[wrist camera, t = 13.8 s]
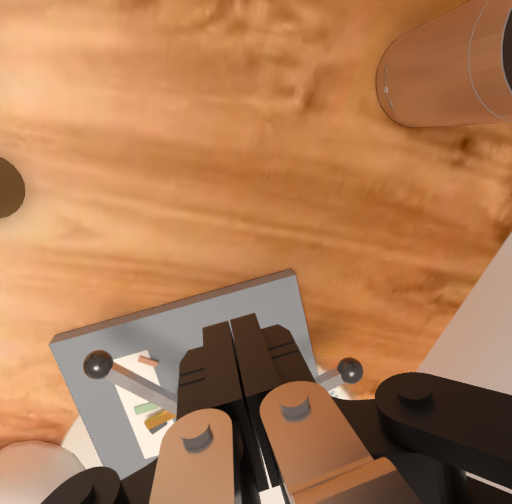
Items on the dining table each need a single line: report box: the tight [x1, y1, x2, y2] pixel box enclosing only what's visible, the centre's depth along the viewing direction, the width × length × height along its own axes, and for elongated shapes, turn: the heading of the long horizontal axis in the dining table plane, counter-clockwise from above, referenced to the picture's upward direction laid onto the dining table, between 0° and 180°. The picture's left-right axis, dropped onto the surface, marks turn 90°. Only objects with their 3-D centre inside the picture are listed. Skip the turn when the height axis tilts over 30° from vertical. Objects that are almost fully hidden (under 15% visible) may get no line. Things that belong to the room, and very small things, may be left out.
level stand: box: [49, 269, 318, 480], centre depth 45 cm, size 26×20×2 cm
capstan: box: [83, 350, 363, 430], centre depth 40 cm, size 23×25×8 cm
